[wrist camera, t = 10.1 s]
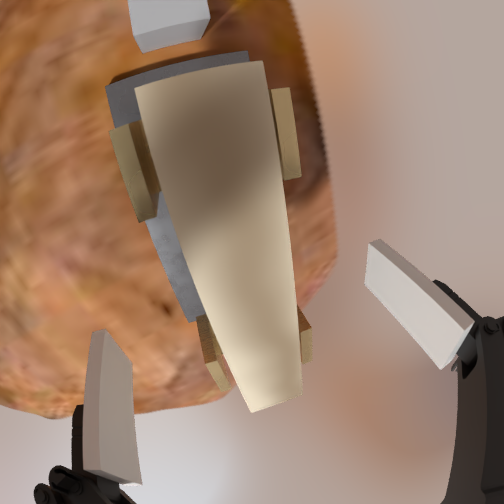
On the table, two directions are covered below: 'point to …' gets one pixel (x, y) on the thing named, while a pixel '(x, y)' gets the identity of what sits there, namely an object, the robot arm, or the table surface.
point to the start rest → (167, 22)
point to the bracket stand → (153, 203)
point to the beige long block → (230, 217)
